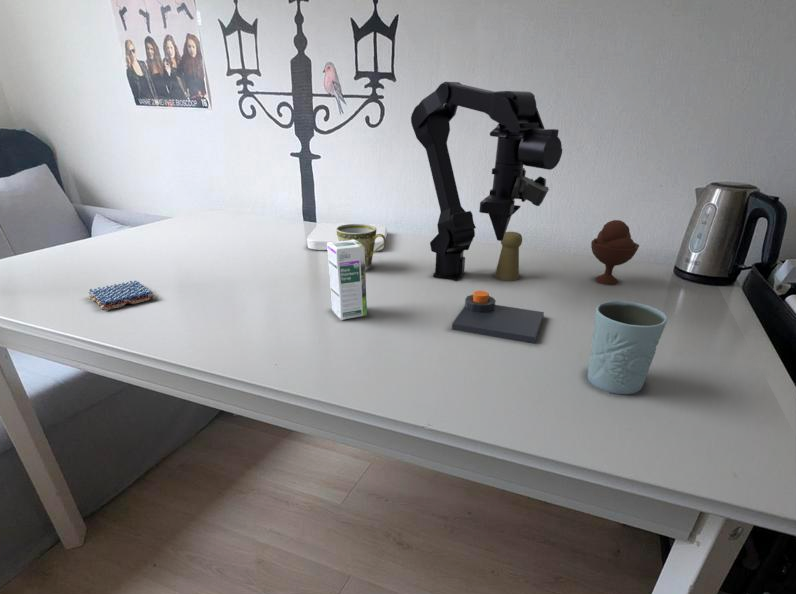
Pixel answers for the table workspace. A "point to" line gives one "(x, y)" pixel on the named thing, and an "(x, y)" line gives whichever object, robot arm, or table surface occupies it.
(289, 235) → the table surface
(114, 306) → the woven mat
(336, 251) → the syrup box
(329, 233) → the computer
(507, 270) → the cork
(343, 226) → the ceramic cup
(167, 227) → the table surface
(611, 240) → the ice cream bowl
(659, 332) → the light blue embossed pot
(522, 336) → the dark grey base plate
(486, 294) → the button
